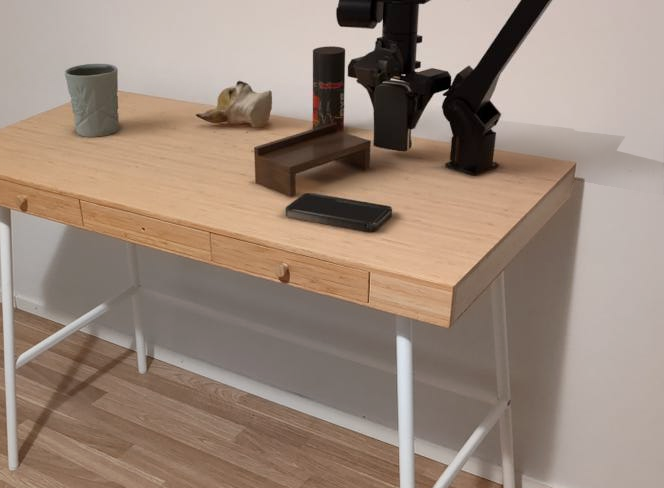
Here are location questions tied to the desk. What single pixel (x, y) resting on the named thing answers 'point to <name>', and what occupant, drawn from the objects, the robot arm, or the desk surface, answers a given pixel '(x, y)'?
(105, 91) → the green planter pot
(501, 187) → the desk surface
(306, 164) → the shelf
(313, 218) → the phone
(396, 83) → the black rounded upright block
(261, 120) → the ceramic sculpture
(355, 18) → the robot arm
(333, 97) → the deodorant
